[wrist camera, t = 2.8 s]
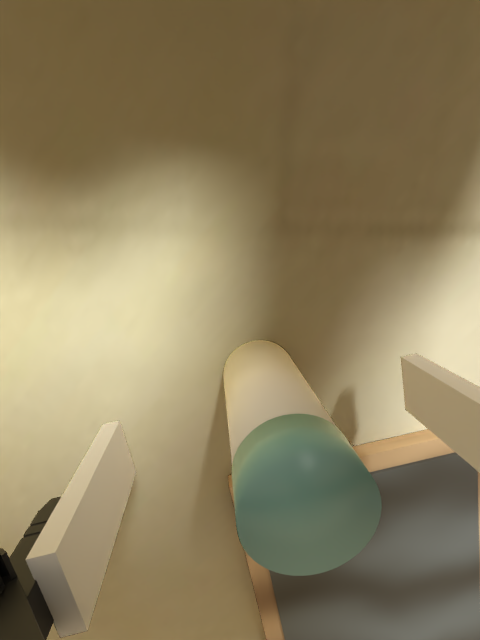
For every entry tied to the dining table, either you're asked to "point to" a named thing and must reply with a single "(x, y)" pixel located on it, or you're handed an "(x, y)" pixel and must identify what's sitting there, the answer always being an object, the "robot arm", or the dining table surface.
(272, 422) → the chalk marker
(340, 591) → the slate board
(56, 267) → the dining table surface
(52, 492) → the dining table surface
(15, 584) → the robot arm
